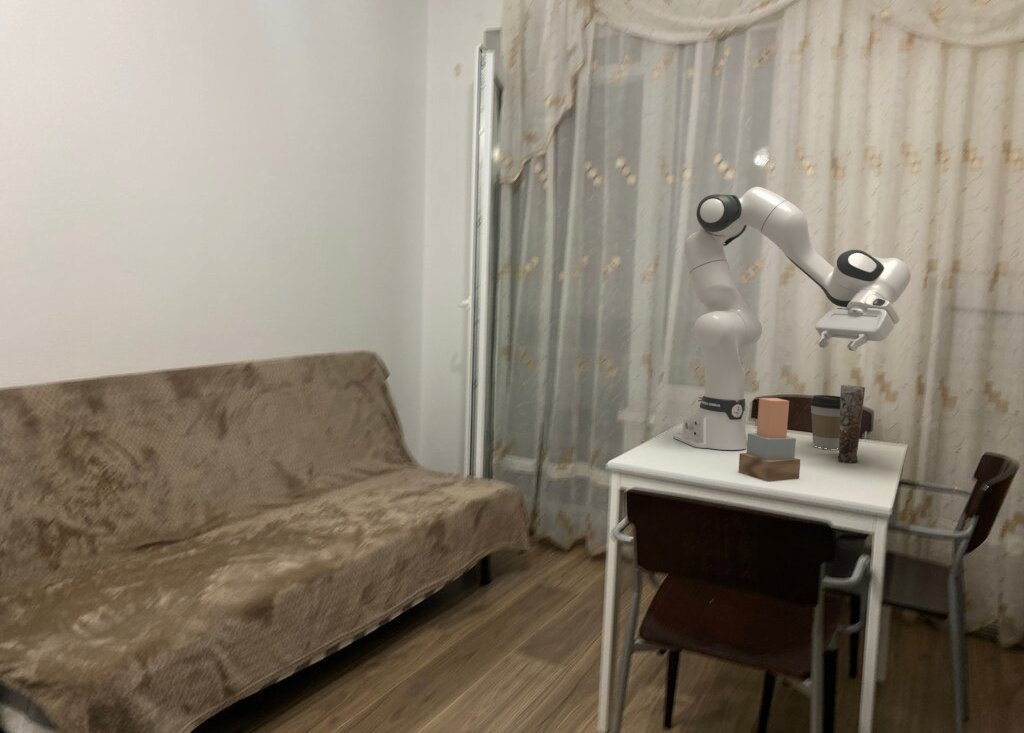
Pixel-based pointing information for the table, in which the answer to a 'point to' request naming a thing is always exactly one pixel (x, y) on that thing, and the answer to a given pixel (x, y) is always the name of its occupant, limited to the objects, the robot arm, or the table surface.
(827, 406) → the coffee cup
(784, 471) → the tower base
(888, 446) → the table surface
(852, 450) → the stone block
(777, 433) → the terracotta block
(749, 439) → the tower top
